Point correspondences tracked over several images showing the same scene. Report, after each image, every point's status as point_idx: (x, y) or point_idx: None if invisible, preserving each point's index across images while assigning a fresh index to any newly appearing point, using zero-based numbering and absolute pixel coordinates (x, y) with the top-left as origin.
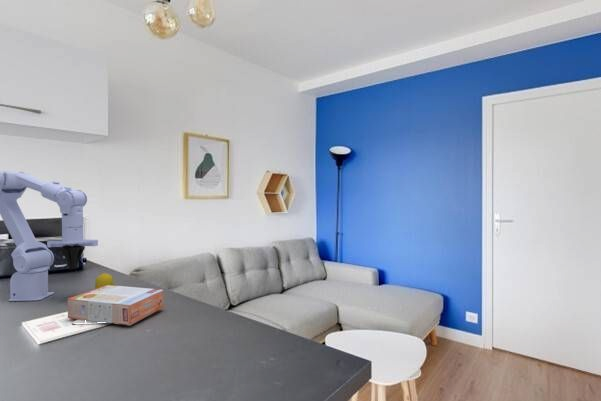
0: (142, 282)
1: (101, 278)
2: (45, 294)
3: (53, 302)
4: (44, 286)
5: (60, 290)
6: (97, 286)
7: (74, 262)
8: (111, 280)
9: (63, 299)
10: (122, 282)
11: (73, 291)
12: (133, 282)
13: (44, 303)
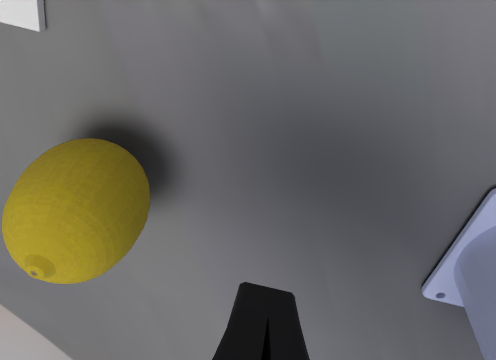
0: (29, 322)
1: (51, 206)
2: (467, 253)
3: (401, 121)
4: (493, 291)
5: (395, 330)
6: (108, 166)
7: (214, 356)
8: (6, 202)
9: (349, 167)
10: (128, 350)
11: (325, 295)
12: (74, 335)
13: (457, 117)
